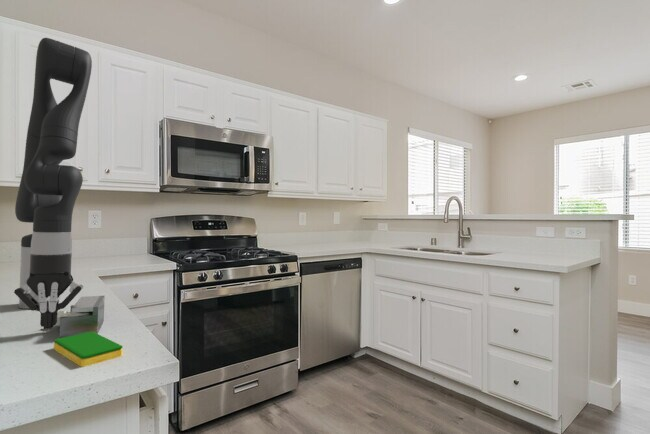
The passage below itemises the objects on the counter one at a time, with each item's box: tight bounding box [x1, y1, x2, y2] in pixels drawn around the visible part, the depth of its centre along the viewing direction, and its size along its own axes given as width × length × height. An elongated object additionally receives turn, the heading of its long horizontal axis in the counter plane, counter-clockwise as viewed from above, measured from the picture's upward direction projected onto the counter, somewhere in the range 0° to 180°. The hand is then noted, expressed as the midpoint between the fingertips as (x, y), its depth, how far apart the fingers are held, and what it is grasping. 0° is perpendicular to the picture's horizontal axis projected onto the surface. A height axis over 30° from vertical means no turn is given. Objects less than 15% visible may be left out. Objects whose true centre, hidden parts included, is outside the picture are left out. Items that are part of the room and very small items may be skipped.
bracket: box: [59, 295, 105, 338], centre depth 86 cm, size 12×7×6 cm, turn 25°
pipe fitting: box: [54, 310, 93, 327], centre depth 85 cm, size 8×4×7 cm
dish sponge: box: [53, 332, 123, 368], centre depth 72 cm, size 7×14×2 cm, turn 54°
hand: (48, 327), depth 83 cm, fingers closed
